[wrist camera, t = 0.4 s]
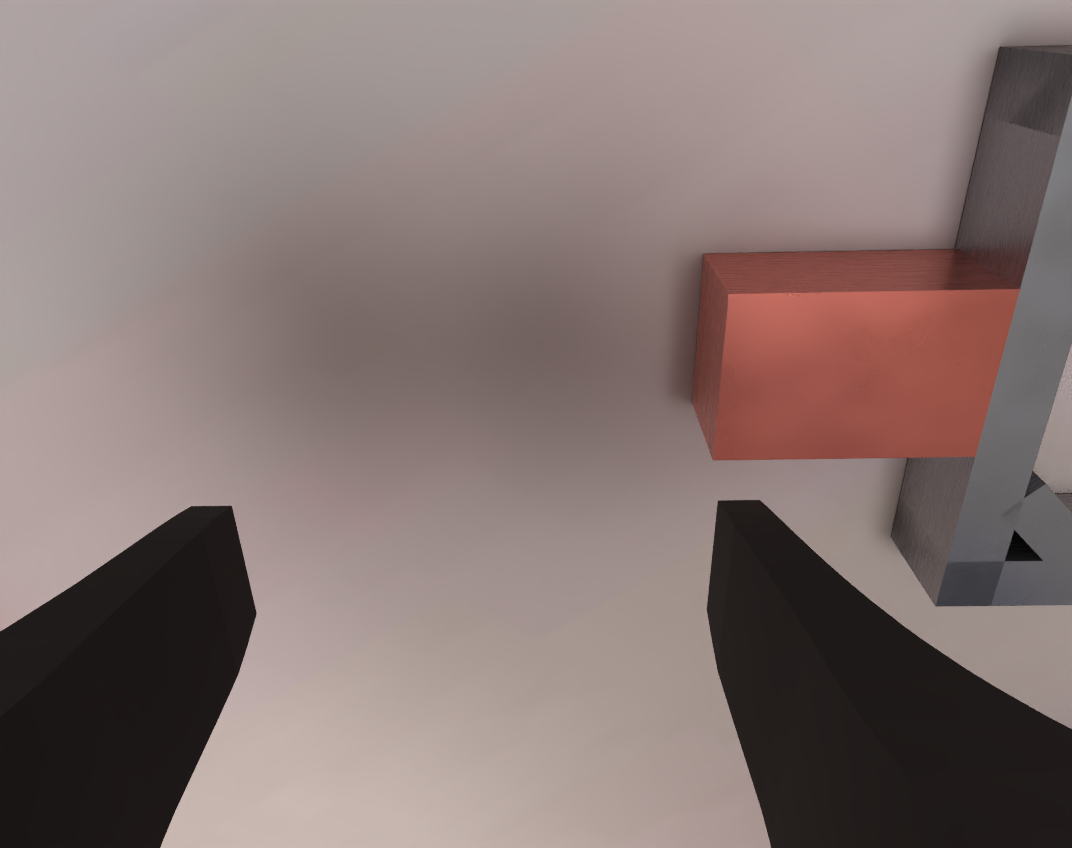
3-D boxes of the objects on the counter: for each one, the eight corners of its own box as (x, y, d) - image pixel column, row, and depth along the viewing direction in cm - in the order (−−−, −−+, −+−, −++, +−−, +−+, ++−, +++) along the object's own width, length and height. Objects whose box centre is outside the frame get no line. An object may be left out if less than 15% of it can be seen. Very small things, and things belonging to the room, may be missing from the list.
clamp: (681, 539, 23) (699, 608, 21) (719, 53, 17) (749, 62, 15) (1222, 533, 23) (1310, 602, 20) (1447, 37, 17) (1612, 43, 15)
